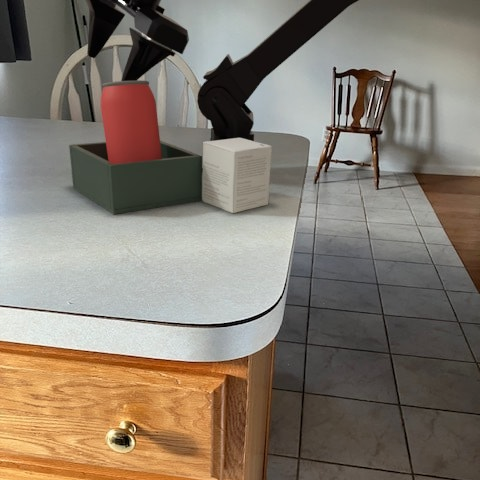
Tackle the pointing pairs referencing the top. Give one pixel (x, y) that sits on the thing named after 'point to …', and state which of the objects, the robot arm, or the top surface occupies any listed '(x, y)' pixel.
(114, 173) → the open storage bin
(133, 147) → the beer can
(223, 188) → the product box
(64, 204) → the top surface
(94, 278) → the top surface
